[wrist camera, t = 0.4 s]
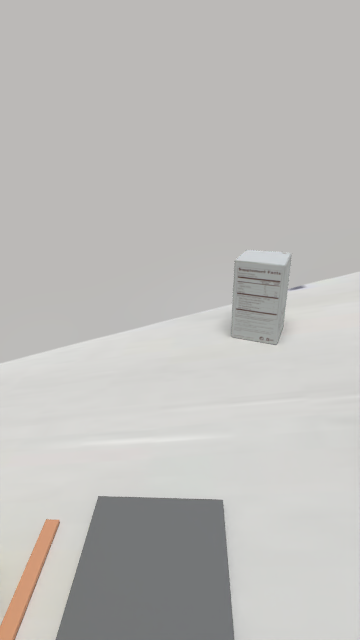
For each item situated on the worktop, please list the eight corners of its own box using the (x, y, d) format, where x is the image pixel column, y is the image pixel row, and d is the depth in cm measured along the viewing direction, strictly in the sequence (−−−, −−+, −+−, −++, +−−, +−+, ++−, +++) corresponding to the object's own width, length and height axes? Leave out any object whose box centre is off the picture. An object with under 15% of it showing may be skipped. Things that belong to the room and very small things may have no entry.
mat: (241, 737, 16) (241, 733, 15) (33, 724, 16) (31, 721, 16) (222, 503, 26) (222, 499, 26) (99, 499, 27) (98, 496, 27)
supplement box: (241, 319, 59) (245, 248, 54) (284, 326, 56) (293, 252, 51) (229, 337, 53) (233, 259, 48) (276, 346, 50) (286, 263, 45)
